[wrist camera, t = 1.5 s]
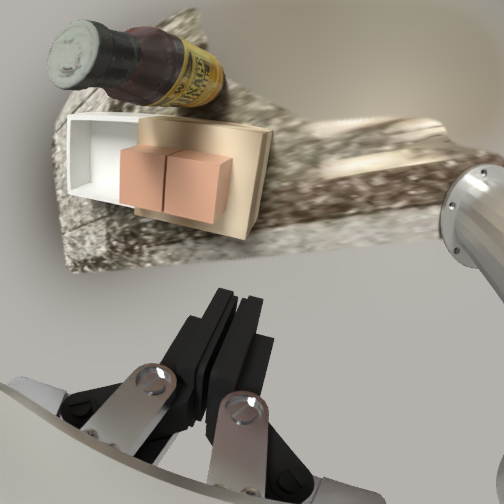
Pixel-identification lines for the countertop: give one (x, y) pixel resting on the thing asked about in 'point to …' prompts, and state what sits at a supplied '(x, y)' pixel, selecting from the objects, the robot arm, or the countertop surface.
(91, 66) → the sauce bottle
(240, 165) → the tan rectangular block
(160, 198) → the block
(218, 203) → the block
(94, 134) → the box
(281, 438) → the robot arm
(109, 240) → the countertop surface
